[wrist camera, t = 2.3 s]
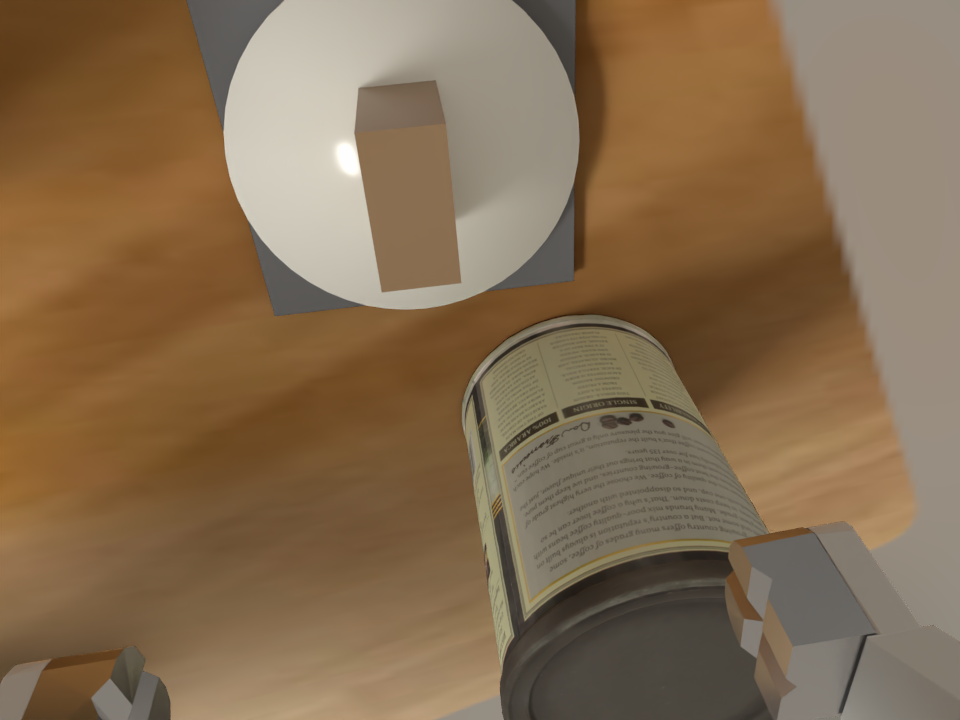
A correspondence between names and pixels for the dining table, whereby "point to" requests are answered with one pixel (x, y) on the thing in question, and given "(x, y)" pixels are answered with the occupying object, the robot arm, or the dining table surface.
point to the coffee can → (606, 530)
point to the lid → (401, 144)
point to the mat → (222, 40)
